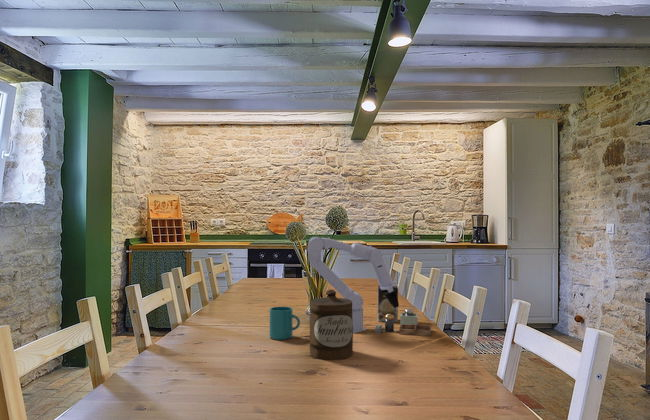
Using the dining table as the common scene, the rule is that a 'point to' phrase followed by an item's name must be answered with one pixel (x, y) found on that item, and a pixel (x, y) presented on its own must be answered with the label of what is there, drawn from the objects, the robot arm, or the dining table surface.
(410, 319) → the cup
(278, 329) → the cup
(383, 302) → the coffee box
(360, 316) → the robot arm
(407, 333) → the trough tray
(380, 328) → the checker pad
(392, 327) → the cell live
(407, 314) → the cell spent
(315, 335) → the wooden container
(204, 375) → the dining table surface
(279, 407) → the dining table surface
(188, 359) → the dining table surface
